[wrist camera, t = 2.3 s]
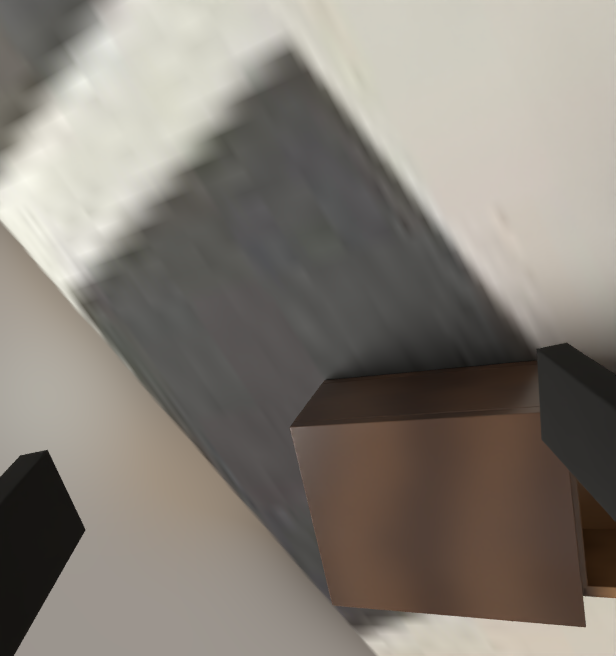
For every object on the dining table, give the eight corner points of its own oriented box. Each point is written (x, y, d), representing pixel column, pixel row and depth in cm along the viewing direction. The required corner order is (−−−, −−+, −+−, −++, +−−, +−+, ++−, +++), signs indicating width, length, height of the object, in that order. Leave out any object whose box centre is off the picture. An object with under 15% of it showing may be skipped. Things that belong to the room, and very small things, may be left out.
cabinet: (540, 359, 33) (563, 411, 26) (560, 534, 37) (586, 627, 29) (324, 380, 39) (289, 427, 31) (356, 529, 42) (332, 605, 35)
